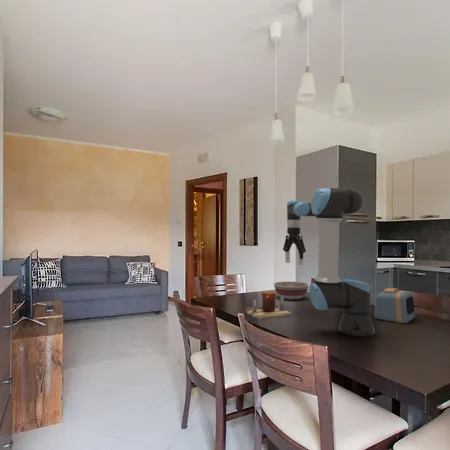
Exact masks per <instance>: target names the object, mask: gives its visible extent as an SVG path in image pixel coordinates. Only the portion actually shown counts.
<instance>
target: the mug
mask: <svg viewBox="0 0 450 450" xmlns="http://www.w3.org/2000/svg"><path fill="white" fill-rule="evenodd" d="M260 295H261V306H262V310H263V311H264V312H273V311H275V305H276V297H277V292H276V291H272V290H263V291H260Z"/></svg>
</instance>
